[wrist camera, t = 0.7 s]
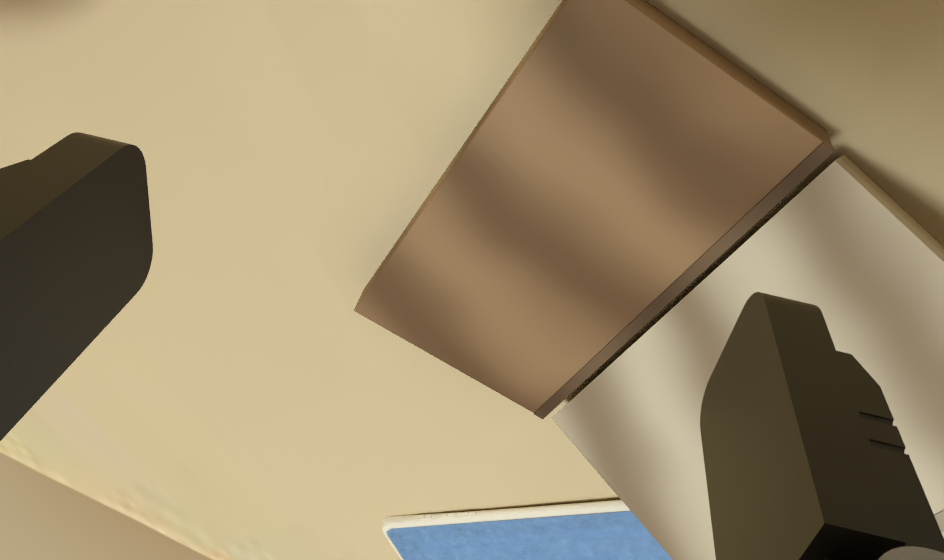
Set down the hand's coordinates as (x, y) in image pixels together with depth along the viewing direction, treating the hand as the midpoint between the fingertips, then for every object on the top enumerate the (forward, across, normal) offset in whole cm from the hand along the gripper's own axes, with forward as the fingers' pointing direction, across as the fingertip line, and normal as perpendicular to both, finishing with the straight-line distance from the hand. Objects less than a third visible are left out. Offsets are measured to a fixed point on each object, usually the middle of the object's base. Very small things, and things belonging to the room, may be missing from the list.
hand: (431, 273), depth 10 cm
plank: (+15, -13, +13) cm, 24 cm away
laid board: (+18, -3, +9) cm, 21 cm away
